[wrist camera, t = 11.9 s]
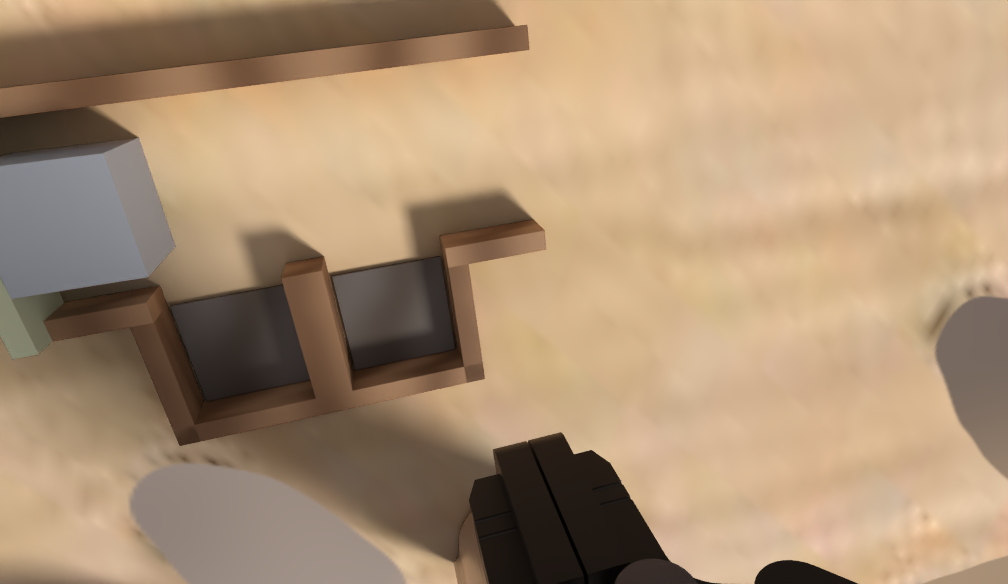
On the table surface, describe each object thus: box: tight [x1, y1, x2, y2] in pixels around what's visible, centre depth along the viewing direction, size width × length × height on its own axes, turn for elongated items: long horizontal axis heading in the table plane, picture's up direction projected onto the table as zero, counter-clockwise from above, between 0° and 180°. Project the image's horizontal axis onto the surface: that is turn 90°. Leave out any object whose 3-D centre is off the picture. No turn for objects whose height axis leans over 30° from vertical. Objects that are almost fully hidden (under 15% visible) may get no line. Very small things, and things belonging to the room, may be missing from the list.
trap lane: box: [0, 25, 546, 446], centre depth 34 cm, size 27×20×2 cm
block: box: [0, 138, 175, 299], centre depth 29 cm, size 6×6×5 cm
